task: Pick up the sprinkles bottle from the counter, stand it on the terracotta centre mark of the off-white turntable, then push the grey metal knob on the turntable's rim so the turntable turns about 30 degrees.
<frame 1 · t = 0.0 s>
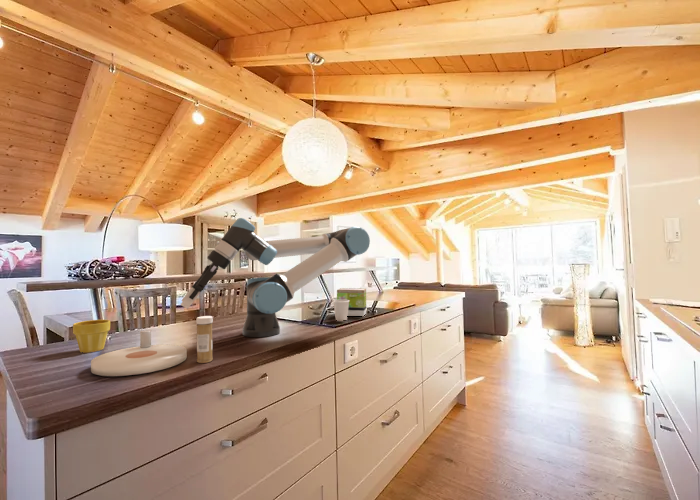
hand: (184, 304, 120), 15 cm above the counter, tool tilted 35°, fingers open, 13 cm apart
tea box: (351, 316, 188), on the counter
dixie cup: (341, 320, 173), on the counter
turntable: (141, 349, 102), point 4 cm above the counter, hinge at 0.0°
sprinkles bottle: (204, 362, 104), on the counter
plant pot: (91, 350, 120), on the counter
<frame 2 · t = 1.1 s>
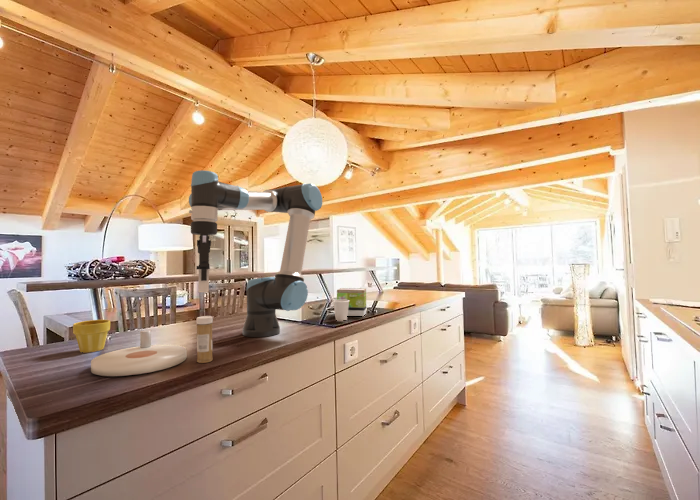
hand: (203, 290, 105), 21 cm above the counter, tool pointing down, fingers open, 13 cm apart
nothing on the counter moved.
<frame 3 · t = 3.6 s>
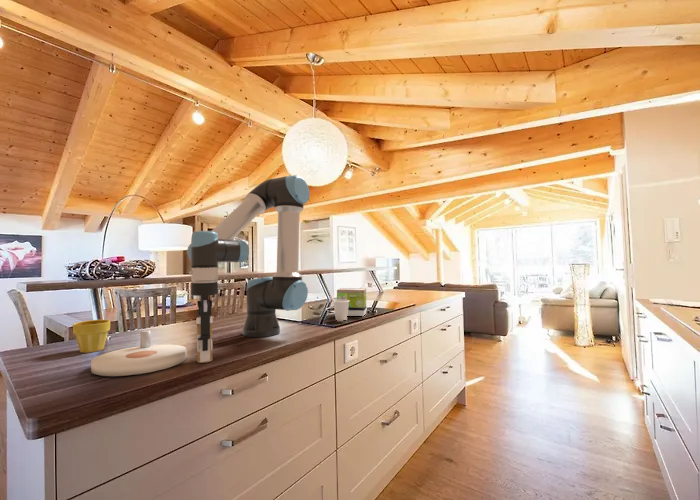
hand: (204, 358, 104), 1 cm above the counter, tool pointing down, fingers closed on sprinkles bottle, 4 cm apart
sprinkles bottle: (204, 362, 104), on the counter, touching gripper
everything else where it was.
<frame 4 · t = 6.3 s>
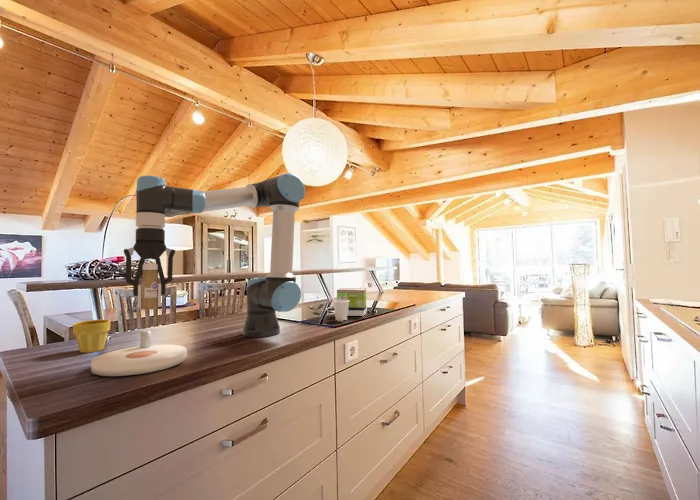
hand: (149, 306, 102), 17 cm above the counter, tool pointing down, fingers closed on sprinkles bottle, 4 cm apart
sprinkles bottle: (149, 309, 102), point 16 cm above the counter, touching gripper
everything else where it was.
when the fingers open (5 cm above the counter, at t = 8.9 s): sprinkles bottle drops 1 cm, resting on turntable.
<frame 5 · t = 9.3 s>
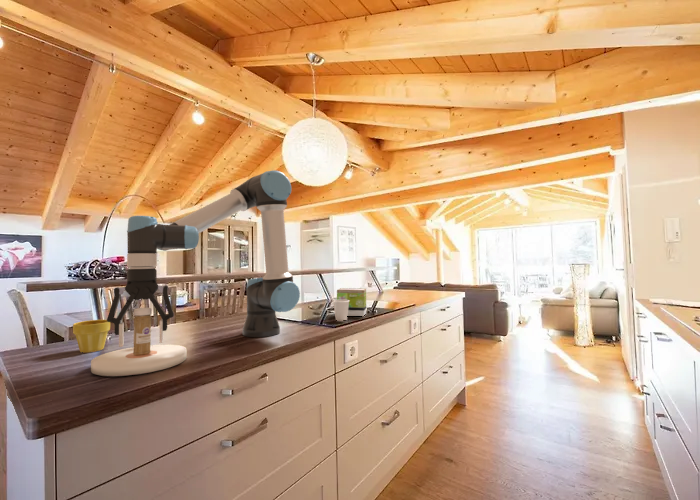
hand: (141, 343, 102), 6 cm above the counter, tool pointing down, fingers open, 9 cm apart
turntable: (141, 349, 102), point 4 cm above the counter, hinge at 0.0°, touching sprinkles bottle
sprinkles bottle: (141, 354, 102), point 3 cm above the counter, touching turntable
everything else where it was.
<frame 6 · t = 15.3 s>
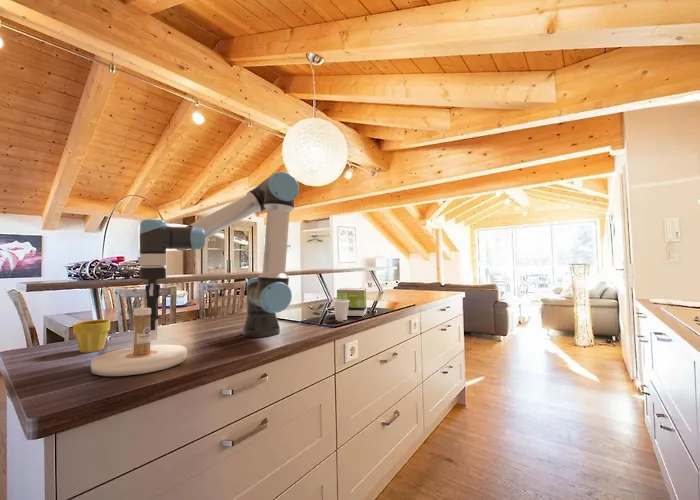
hand: (152, 339, 112), 5 cm above the counter, tool pointing down, fingers closed
turntable: (141, 349, 102), point 4 cm above the counter, hinge at 5.8°, touching gripper, sprinkles bottle
everything else where it was.
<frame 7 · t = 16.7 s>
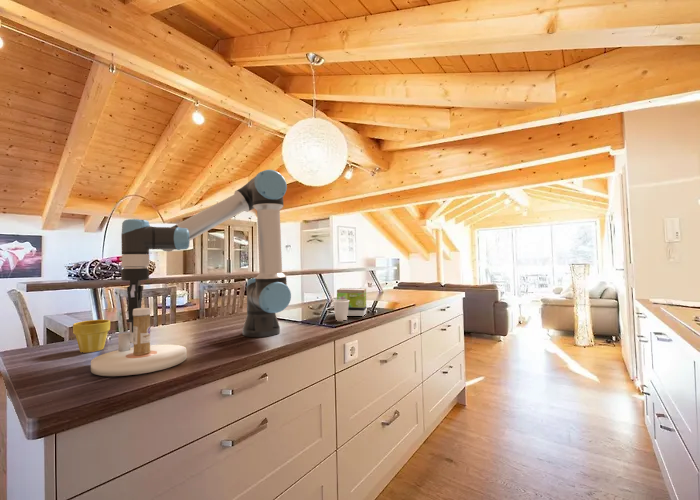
hand: (134, 342, 110), 5 cm above the counter, tool pointing down, fingers closed
turntable: (141, 349, 102), point 4 cm above the counter, hinge at 34.1°, touching gripper, sprinkles bottle
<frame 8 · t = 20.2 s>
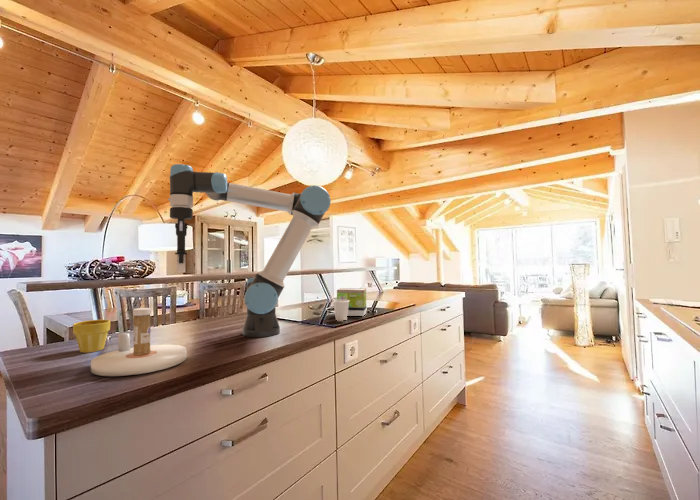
hand: (181, 272, 125), 26 cm above the counter, tool pointing down, fingers closed
turntable: (141, 349, 102), point 4 cm above the counter, hinge at 34.1°, touching sprinkles bottle
at the end: sprinkles bottle 0.1 cm from the turntable (horizontally); sprinkles bottle tilted 0°; turntable at +34° (first picture: +0°) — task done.
